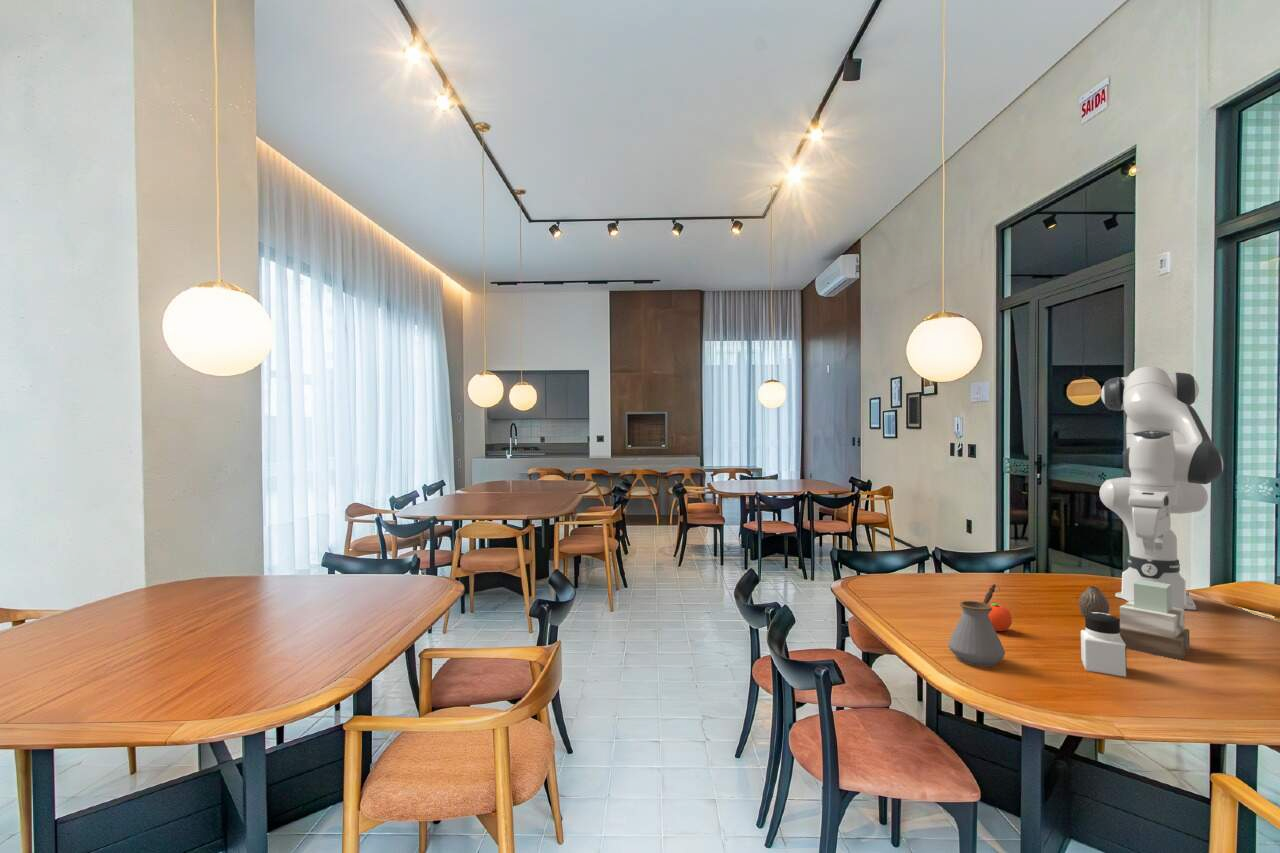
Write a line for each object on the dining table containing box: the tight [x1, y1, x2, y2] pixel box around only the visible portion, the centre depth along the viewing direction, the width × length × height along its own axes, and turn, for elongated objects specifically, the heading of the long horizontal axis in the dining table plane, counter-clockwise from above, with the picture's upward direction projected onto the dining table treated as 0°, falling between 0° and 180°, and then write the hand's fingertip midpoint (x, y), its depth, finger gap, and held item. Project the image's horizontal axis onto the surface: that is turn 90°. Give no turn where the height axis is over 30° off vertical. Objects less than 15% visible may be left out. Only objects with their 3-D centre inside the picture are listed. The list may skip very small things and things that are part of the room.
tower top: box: [1119, 600, 1186, 638], centre depth 140 cm, size 10×10×5 cm
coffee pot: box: [947, 583, 1006, 667], centre depth 136 cm, size 21×12×15 cm, turn 133°
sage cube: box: [1134, 580, 1172, 614], centre depth 140 cm, size 6×6×6 cm
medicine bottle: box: [1080, 612, 1128, 678], centre depth 127 cm, size 7×7×12 cm
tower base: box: [1120, 627, 1191, 661], centre depth 140 cm, size 12×12×5 cm
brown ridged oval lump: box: [1078, 585, 1110, 617], centre depth 163 cm, size 7×7×9 cm
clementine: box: [988, 603, 1013, 632], centre depth 153 cm, size 8×7×7 cm
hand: (1154, 552), depth 140 cm, fingers open, 8 cm apart
